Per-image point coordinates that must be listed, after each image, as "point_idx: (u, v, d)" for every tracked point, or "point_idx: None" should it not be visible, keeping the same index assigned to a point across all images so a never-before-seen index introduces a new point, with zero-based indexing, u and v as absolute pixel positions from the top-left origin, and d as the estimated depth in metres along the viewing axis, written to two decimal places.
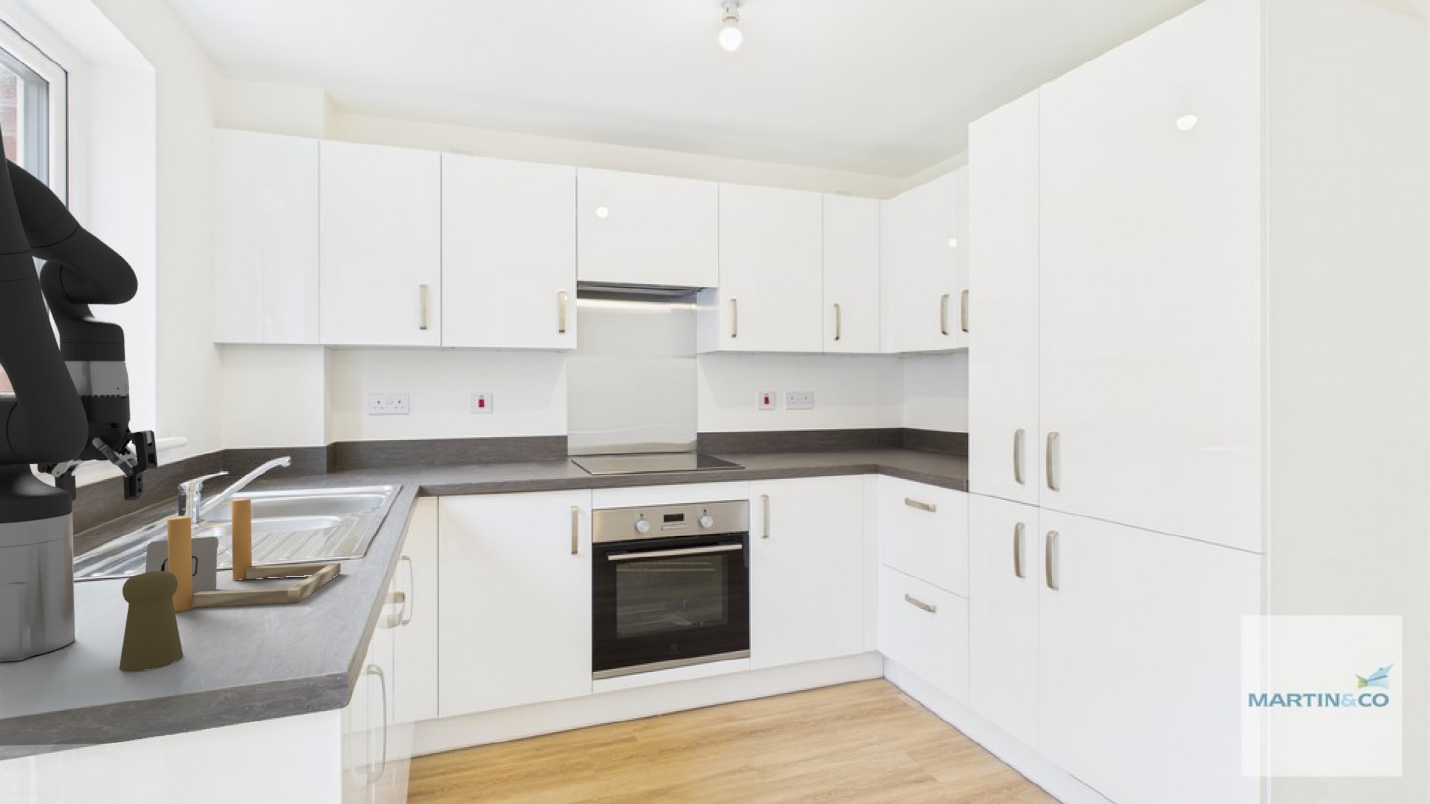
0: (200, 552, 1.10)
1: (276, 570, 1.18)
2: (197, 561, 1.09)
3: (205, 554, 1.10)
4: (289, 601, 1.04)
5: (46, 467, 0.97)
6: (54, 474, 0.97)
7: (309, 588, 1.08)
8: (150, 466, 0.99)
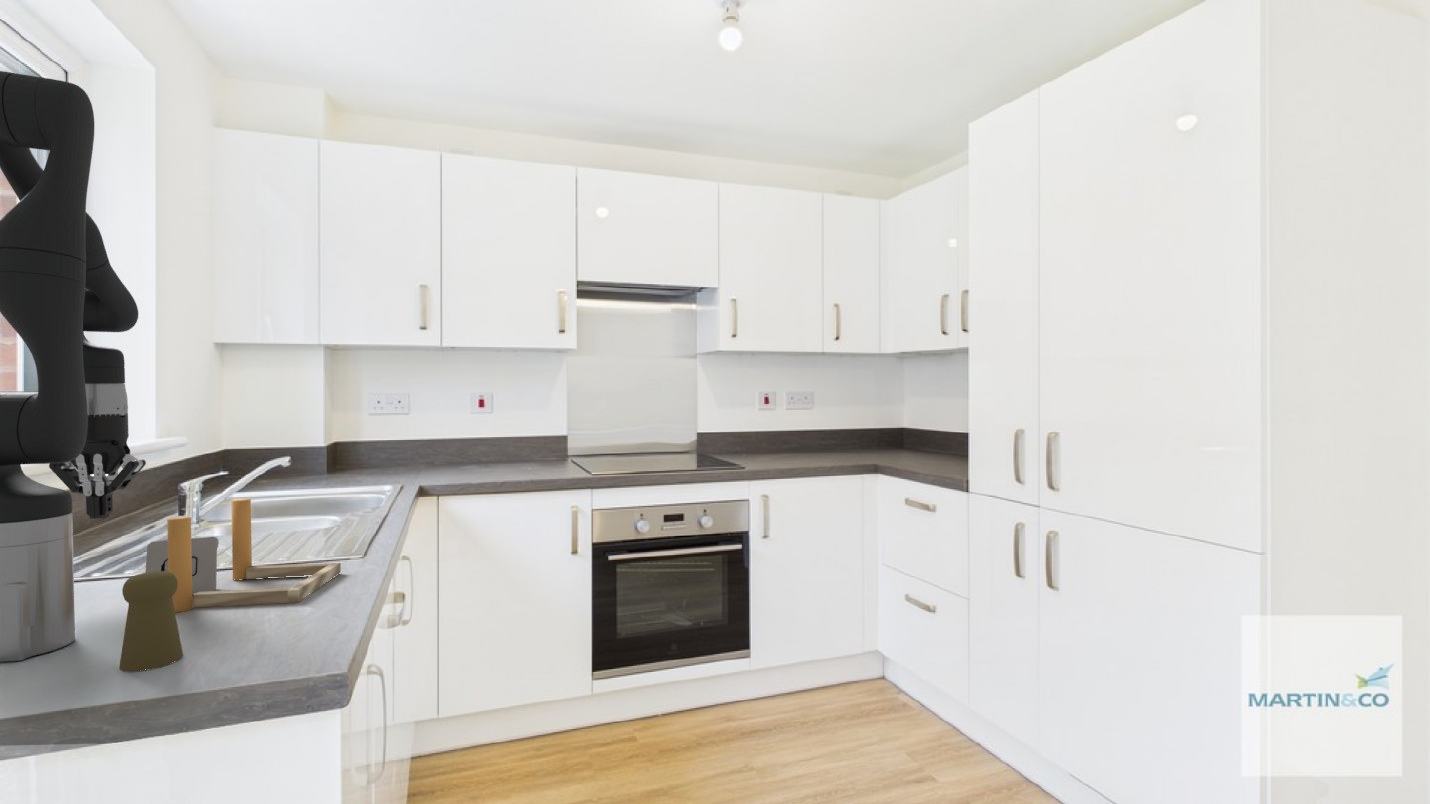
0: (200, 552, 1.10)
1: (276, 570, 1.18)
2: (197, 561, 1.09)
3: (205, 554, 1.10)
4: (289, 601, 1.04)
5: (78, 487, 1.06)
6: (85, 493, 1.06)
7: (309, 588, 1.08)
8: (119, 487, 1.08)
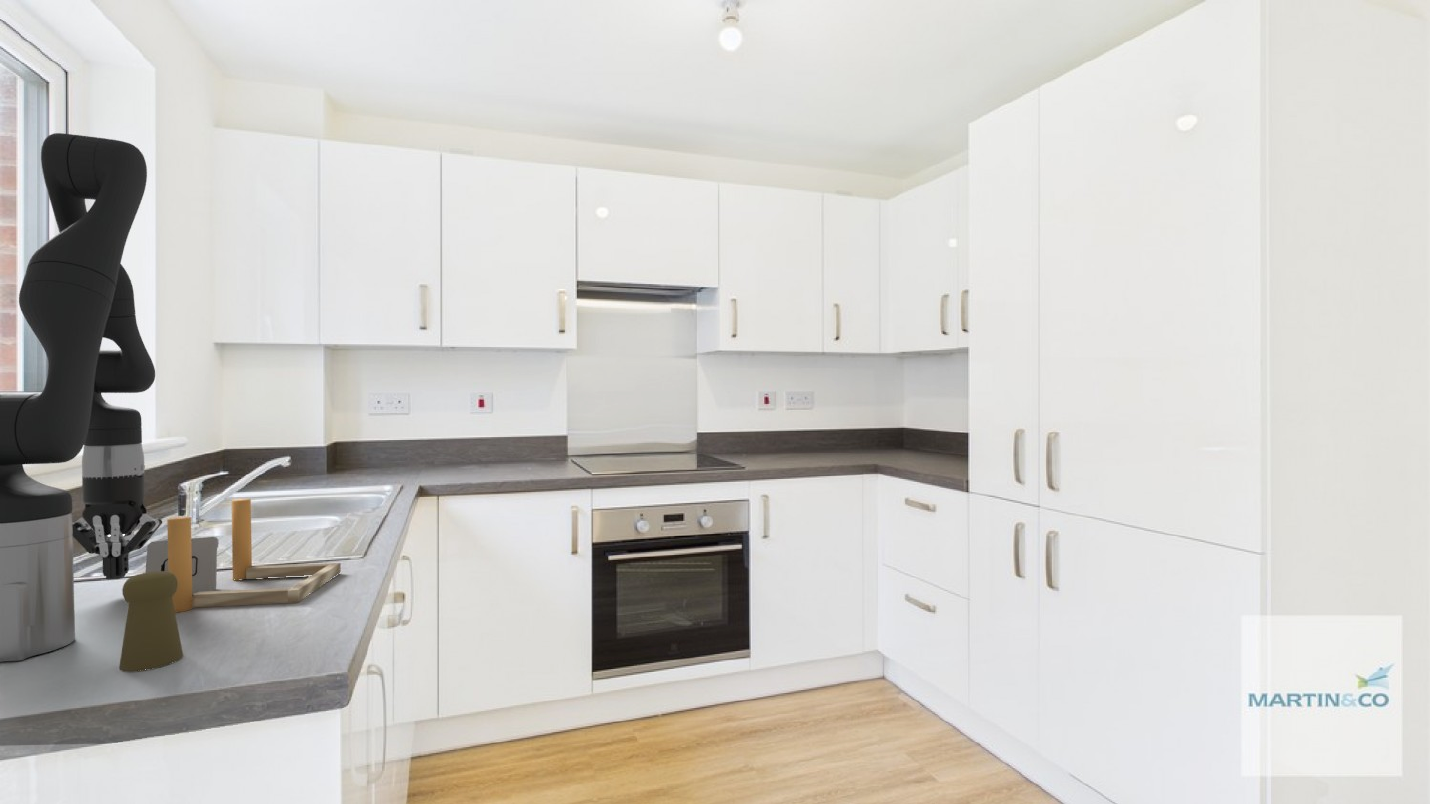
0: (200, 552, 1.10)
1: (276, 570, 1.18)
2: (197, 561, 1.09)
3: (205, 554, 1.10)
4: (289, 601, 1.04)
5: (95, 548, 1.06)
6: (102, 554, 1.06)
7: (309, 588, 1.08)
8: (136, 547, 1.08)
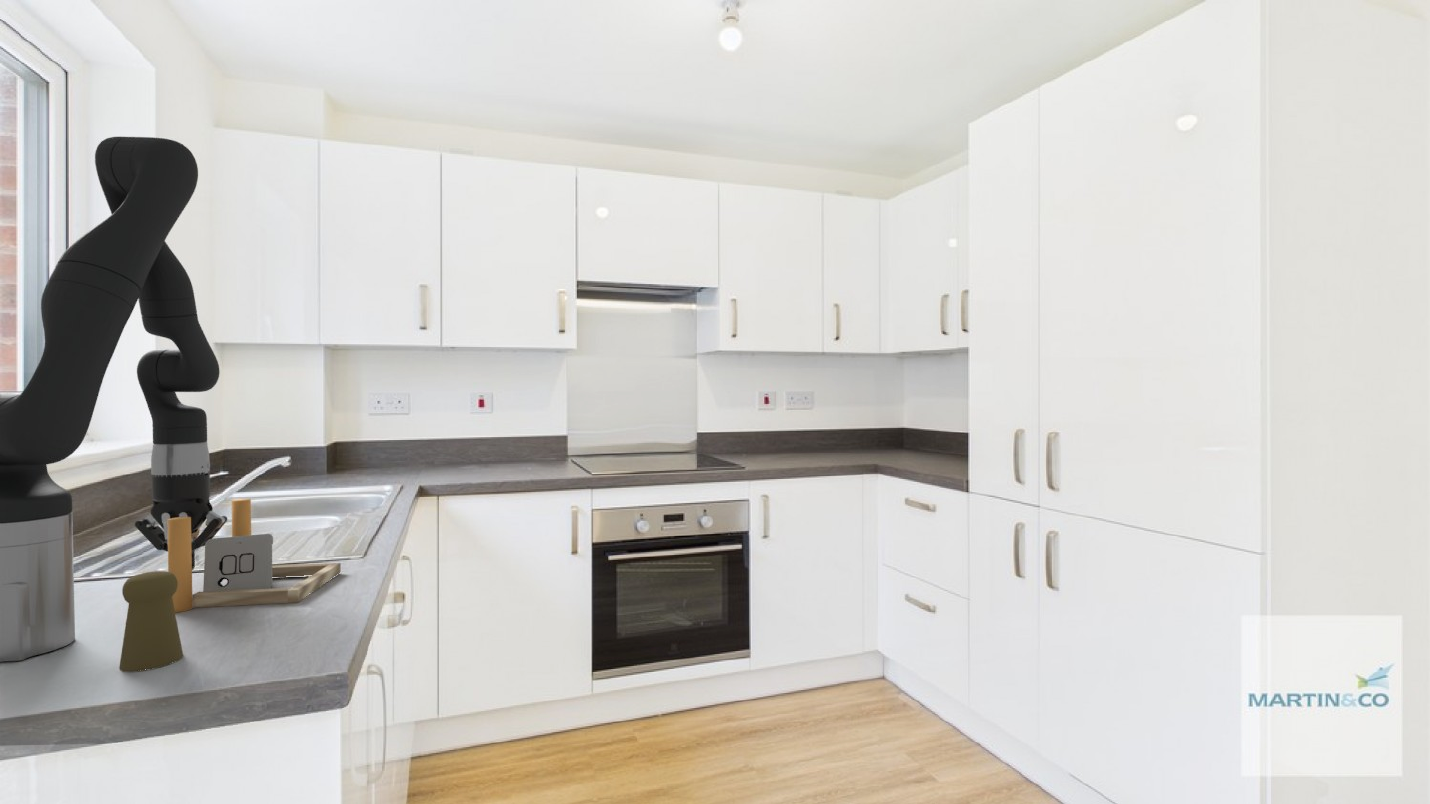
0: (256, 549, 1.12)
1: (276, 570, 1.18)
2: (253, 558, 1.11)
3: (261, 551, 1.12)
4: (289, 601, 1.04)
5: (163, 545, 1.08)
6: None
7: (309, 588, 1.08)
8: (202, 544, 1.10)
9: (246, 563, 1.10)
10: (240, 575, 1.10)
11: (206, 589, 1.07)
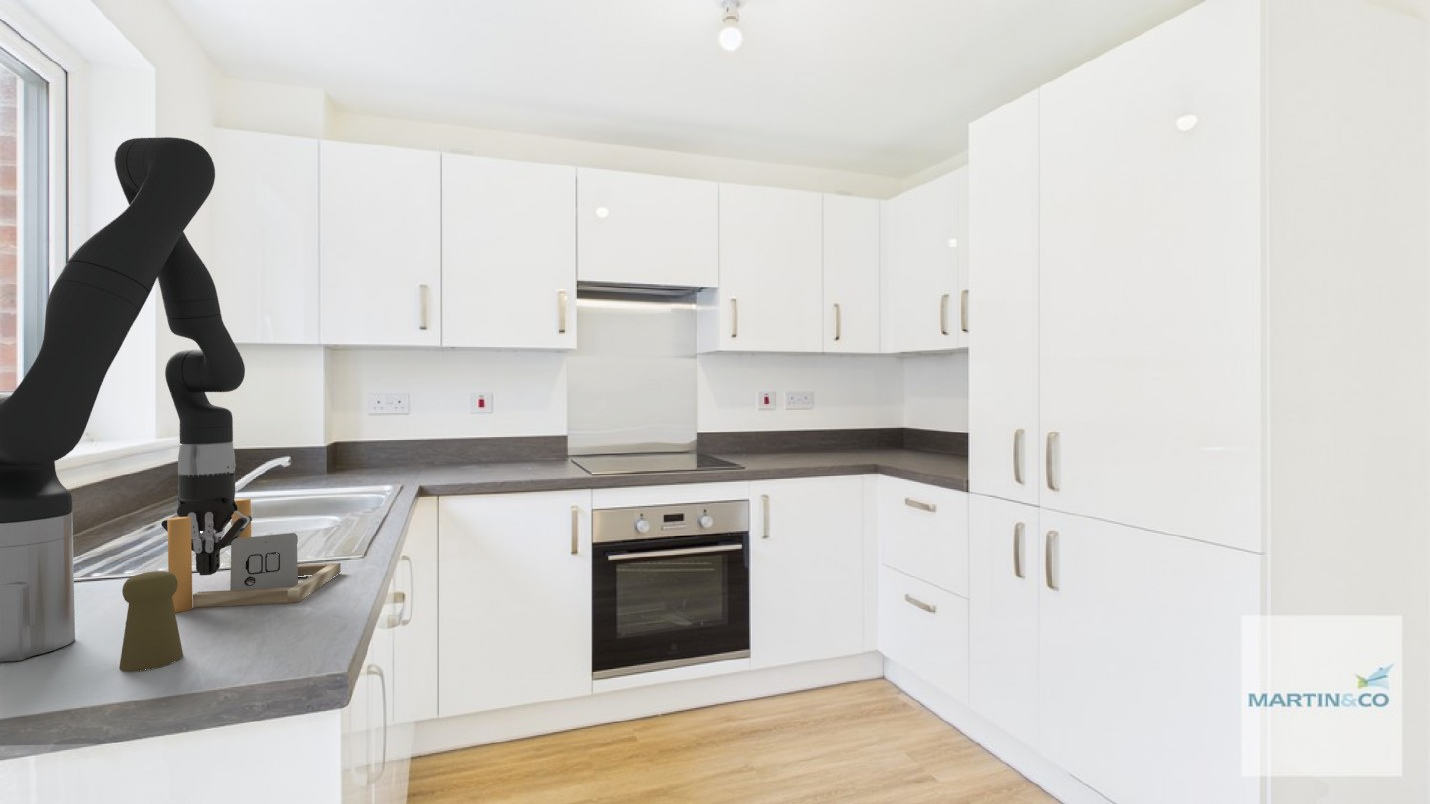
0: (281, 548, 1.12)
1: None
2: (279, 557, 1.12)
3: (287, 550, 1.12)
4: (289, 601, 1.04)
5: None
6: (196, 551, 1.08)
7: (309, 588, 1.08)
8: (227, 543, 1.10)
9: (272, 562, 1.11)
10: (266, 574, 1.10)
11: (233, 588, 1.08)
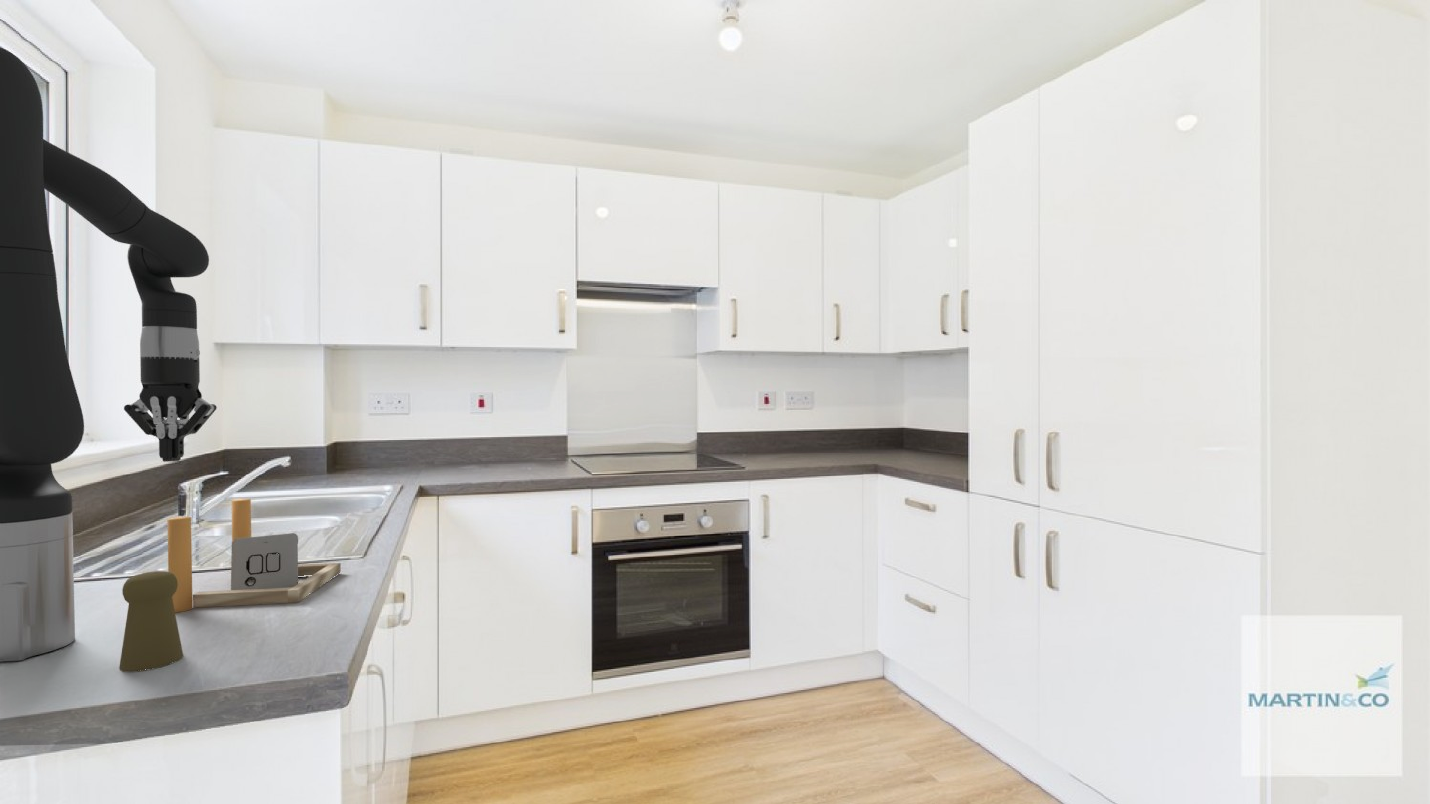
0: (282, 548, 1.12)
1: None
2: (279, 557, 1.12)
3: (287, 550, 1.12)
4: (289, 601, 1.04)
5: (152, 429, 1.08)
6: (159, 436, 1.08)
7: (309, 588, 1.08)
8: (191, 430, 1.09)
9: (273, 562, 1.11)
10: (267, 574, 1.10)
11: (234, 588, 1.08)
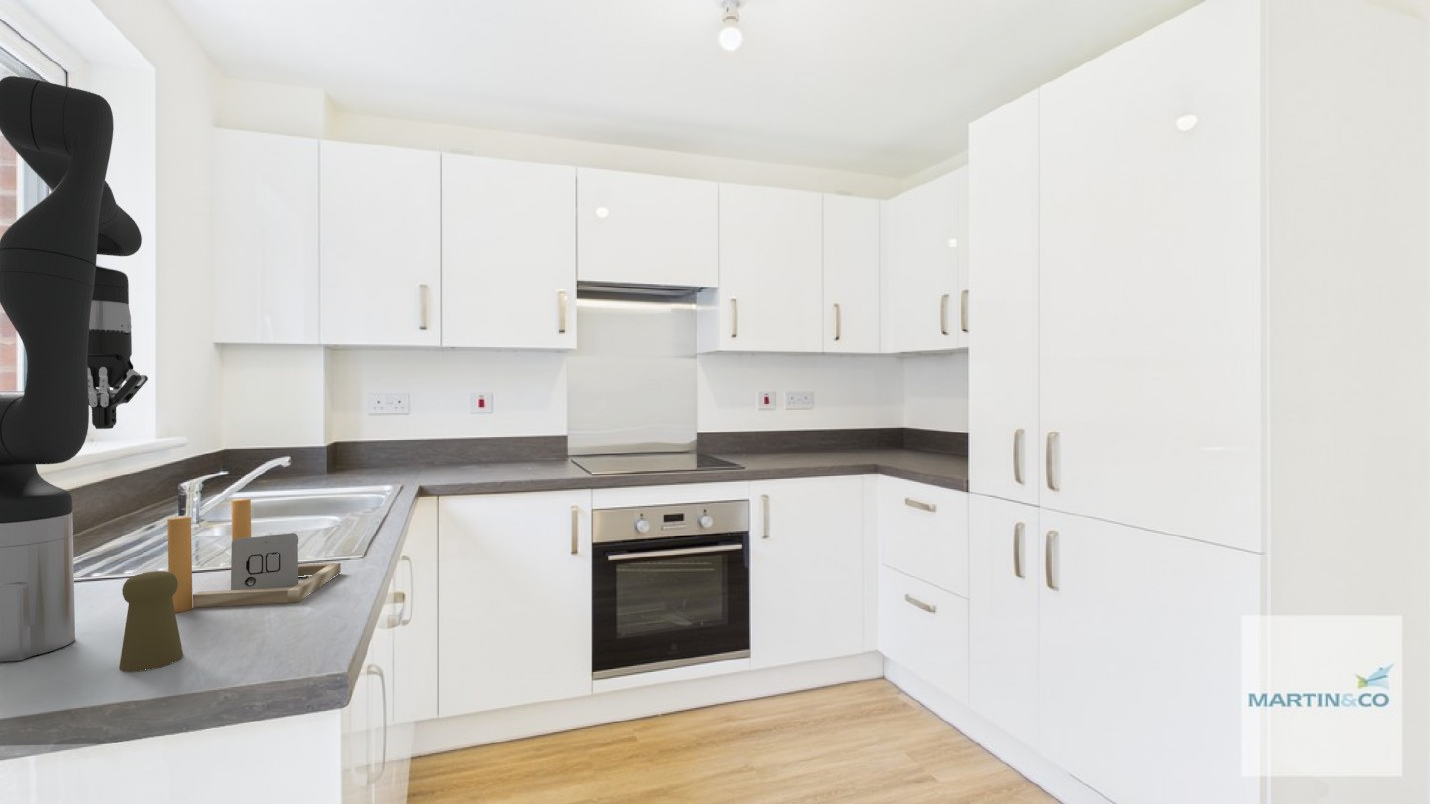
0: (282, 548, 1.12)
1: None
2: (279, 557, 1.12)
3: (287, 550, 1.12)
4: (289, 601, 1.04)
5: None
6: (91, 404, 1.14)
7: (309, 588, 1.08)
8: (123, 399, 1.15)
9: (273, 562, 1.11)
10: (267, 574, 1.10)
11: (234, 588, 1.08)
